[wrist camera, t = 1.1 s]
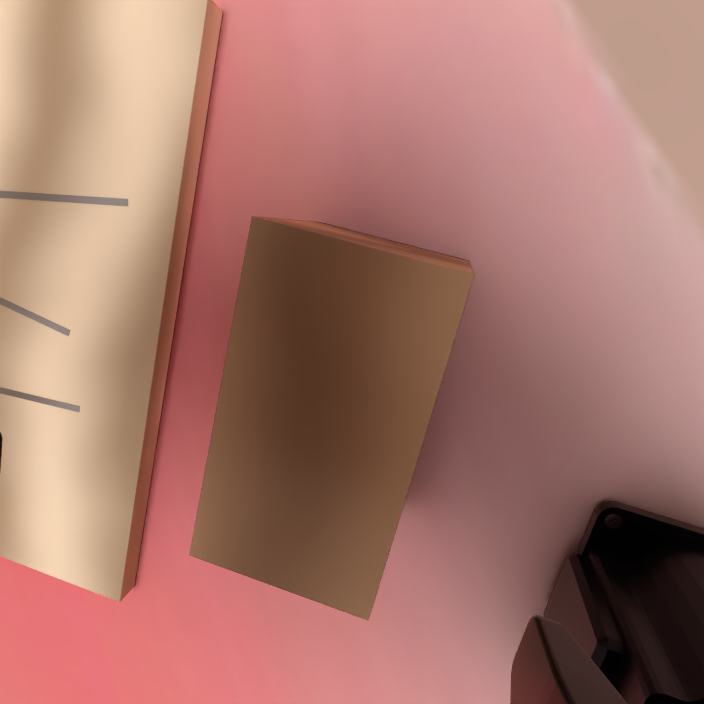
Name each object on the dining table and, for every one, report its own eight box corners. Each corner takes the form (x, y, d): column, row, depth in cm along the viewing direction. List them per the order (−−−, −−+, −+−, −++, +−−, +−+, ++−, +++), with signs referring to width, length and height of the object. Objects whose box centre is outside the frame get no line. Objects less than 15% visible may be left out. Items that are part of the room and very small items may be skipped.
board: (222, 11, 16) (207, -4, 15) (134, 586, 22) (119, 602, 21) (-98, -56, 18) (-131, -73, 17) (-102, 496, 24) (-126, 508, 23)
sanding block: (469, 260, 16) (474, 274, 11) (396, 503, 19) (368, 620, 13) (321, 222, 17) (252, 216, 11) (268, 460, 20) (189, 555, 14)
